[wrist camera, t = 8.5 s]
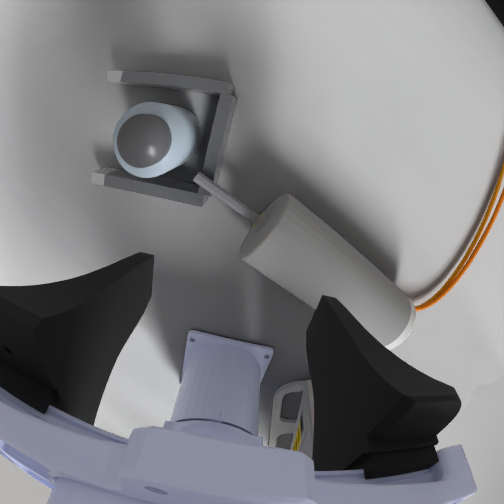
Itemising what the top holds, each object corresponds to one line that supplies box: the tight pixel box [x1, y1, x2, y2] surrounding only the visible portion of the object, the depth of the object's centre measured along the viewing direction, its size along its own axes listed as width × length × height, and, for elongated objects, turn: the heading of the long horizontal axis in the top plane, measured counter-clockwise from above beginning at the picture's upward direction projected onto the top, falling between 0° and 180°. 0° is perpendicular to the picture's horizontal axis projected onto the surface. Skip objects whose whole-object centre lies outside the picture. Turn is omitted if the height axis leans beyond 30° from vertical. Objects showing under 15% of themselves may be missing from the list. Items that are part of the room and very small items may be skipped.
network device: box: [269, 380, 314, 459], centre depth 22 cm, size 26×9×20 cm, turn 0°
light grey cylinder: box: [113, 102, 202, 178], centre depth 16 cm, size 4×4×5 cm
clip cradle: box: [90, 70, 237, 207], centre depth 17 cm, size 8×9×2 cm
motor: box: [193, 162, 504, 350], centre depth 17 cm, size 23×22×5 cm
